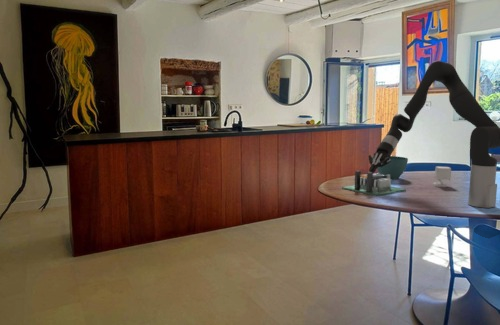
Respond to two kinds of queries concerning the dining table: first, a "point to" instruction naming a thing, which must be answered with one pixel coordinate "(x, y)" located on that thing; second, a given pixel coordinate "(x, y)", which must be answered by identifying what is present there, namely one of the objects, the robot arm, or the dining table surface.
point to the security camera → (442, 175)
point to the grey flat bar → (374, 176)
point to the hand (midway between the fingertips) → (371, 171)
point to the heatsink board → (373, 185)
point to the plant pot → (394, 167)
